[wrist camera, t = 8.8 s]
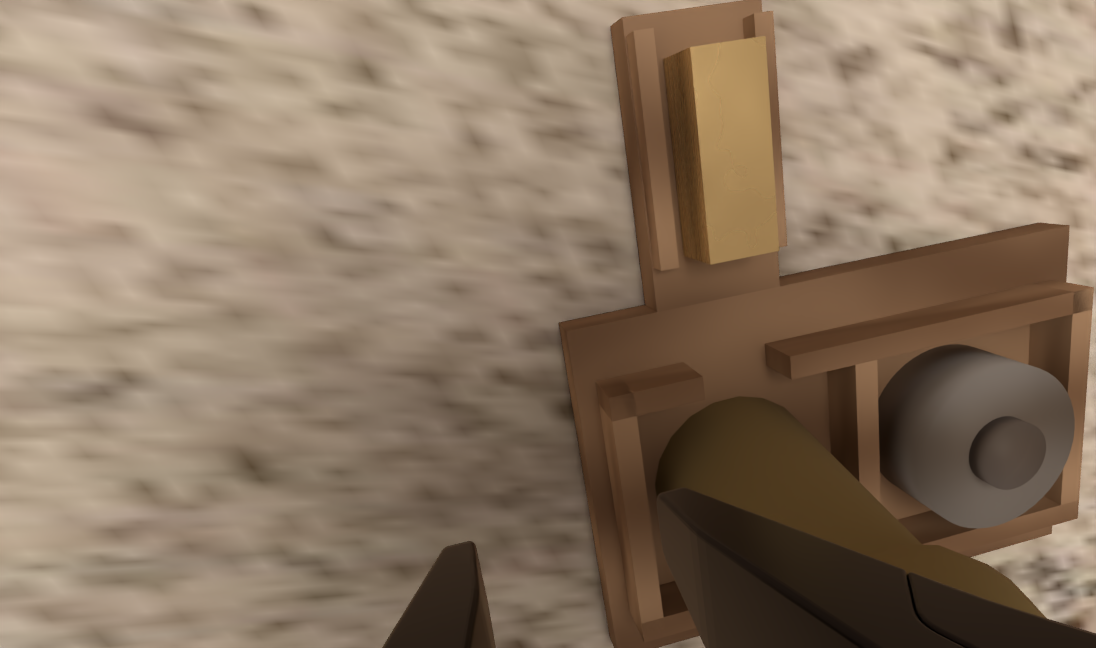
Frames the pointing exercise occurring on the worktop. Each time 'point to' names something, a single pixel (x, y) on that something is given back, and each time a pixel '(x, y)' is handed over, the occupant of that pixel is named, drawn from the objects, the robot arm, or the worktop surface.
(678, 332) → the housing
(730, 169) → the bar
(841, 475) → the olive pepper mill
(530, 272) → the worktop surface
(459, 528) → the worktop surface
